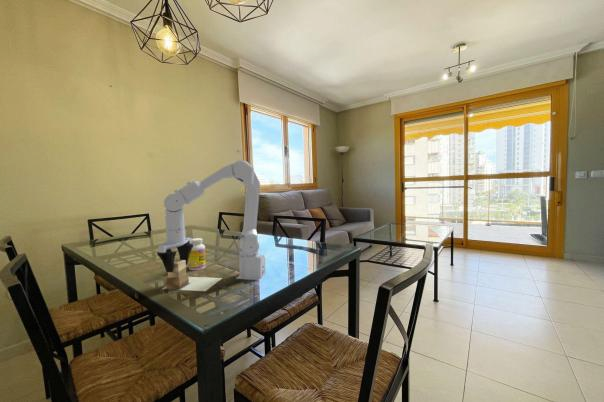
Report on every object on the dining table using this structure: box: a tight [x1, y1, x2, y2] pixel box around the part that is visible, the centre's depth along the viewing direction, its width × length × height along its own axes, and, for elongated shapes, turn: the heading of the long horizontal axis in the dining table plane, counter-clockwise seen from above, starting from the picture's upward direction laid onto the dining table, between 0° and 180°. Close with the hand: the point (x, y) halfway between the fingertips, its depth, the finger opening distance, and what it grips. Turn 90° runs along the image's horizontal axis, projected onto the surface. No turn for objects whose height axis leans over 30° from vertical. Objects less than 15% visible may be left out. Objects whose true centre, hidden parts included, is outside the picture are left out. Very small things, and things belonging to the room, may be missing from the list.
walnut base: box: [165, 273, 190, 290], centre depth 86 cm, size 5×5×4 cm
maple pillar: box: [167, 259, 187, 278], centre depth 86 cm, size 4×4×5 cm
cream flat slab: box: [161, 276, 223, 292], centre depth 89 cm, size 16×12×1 cm
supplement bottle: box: [188, 237, 207, 271], centre depth 107 cm, size 7×7×13 cm
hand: (177, 268), depth 86 cm, fingers open, 7 cm apart
